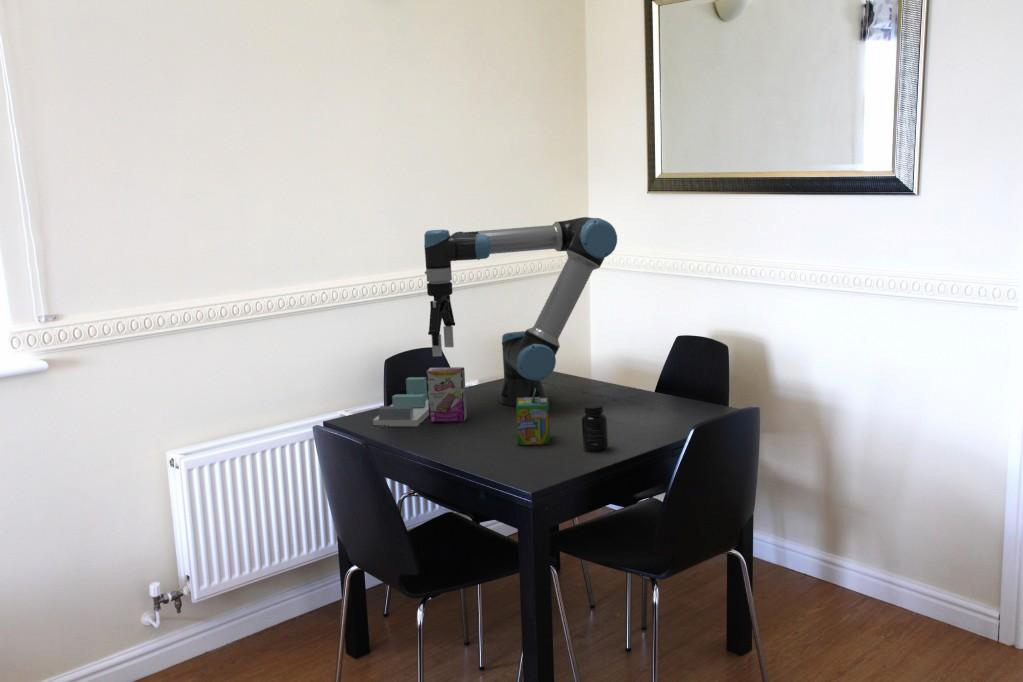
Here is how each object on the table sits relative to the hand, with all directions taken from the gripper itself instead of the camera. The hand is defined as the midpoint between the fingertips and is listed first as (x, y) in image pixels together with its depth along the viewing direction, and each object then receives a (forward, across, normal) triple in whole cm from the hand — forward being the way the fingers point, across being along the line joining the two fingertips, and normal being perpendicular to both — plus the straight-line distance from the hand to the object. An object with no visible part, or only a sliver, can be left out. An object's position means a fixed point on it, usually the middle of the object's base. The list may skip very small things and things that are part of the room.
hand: (443, 351), depth 282 cm
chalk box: (+22, +20, +30) cm, 42 cm away
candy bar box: (+22, 0, 0) cm, 22 cm away
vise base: (+22, -6, -15) cm, 27 cm away
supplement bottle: (+22, +27, +48) cm, 59 cm away
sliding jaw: (+19, -13, -15) cm, 28 cm away
